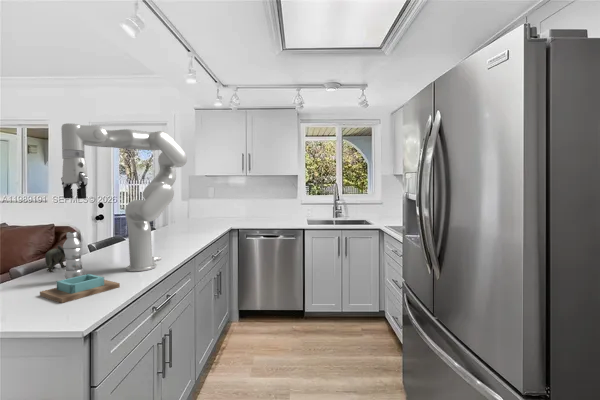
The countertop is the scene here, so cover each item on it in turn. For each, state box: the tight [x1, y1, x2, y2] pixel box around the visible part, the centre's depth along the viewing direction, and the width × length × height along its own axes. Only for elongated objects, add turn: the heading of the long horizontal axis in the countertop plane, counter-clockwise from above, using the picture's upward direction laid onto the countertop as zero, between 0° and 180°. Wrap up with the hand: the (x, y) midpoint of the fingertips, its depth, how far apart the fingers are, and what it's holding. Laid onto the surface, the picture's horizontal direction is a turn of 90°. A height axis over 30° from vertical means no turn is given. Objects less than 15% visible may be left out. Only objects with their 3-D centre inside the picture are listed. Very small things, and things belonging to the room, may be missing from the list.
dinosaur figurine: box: [42, 244, 66, 273], centre depth 164 cm, size 22×8×11 cm, turn 179°
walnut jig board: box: [39, 273, 121, 304], centre depth 131 cm, size 20×16×4 cm
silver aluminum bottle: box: [62, 231, 85, 279], centre depth 144 cm, size 6×7×20 cm
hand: (74, 198), depth 141 cm, fingers open, 9 cm apart
